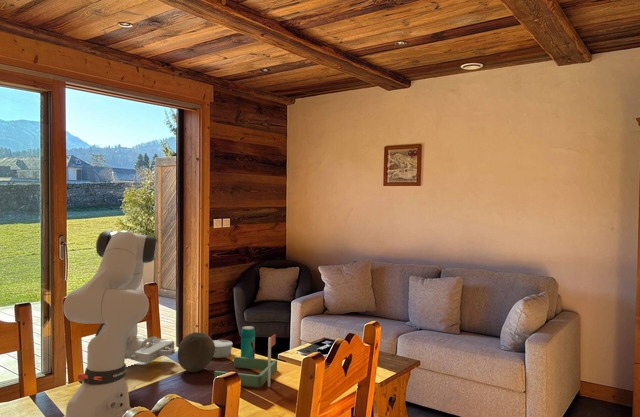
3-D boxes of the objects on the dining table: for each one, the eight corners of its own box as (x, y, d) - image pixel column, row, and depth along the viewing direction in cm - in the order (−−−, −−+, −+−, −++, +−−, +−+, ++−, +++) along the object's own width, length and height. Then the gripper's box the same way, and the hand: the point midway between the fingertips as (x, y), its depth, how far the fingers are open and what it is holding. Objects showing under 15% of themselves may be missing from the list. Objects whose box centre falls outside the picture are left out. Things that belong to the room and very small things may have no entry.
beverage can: (251, 365, 207) (252, 329, 207) (238, 364, 209) (239, 328, 208) (256, 361, 213) (257, 326, 213) (243, 360, 214) (244, 325, 214)
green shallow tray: (268, 388, 183) (269, 339, 182) (214, 382, 188) (214, 334, 187) (284, 371, 201) (285, 326, 201) (234, 366, 206) (235, 322, 206)
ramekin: (235, 352, 226) (236, 340, 226) (227, 359, 215) (227, 347, 215) (212, 350, 228) (212, 338, 228) (202, 357, 217) (202, 345, 217)
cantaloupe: (200, 379, 191) (201, 339, 191) (169, 373, 196) (170, 335, 196) (220, 367, 204) (221, 331, 204) (191, 363, 209) (192, 327, 209)
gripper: (127, 348, 195) (159, 351, 192) (156, 335, 215) (185, 338, 212) (126, 365, 195) (158, 368, 192) (155, 350, 215) (185, 353, 212)
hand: (172, 352), depth 202 cm, fingers closed
